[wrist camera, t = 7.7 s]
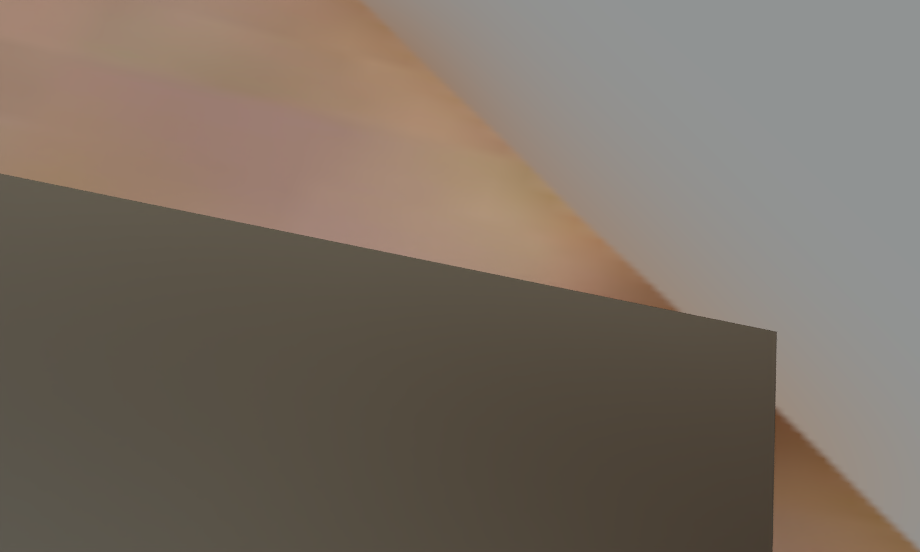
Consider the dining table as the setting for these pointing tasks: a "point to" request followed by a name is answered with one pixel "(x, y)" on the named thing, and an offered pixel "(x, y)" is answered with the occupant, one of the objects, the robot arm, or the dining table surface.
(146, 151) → the dining table surface
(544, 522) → the grey-brown peg
